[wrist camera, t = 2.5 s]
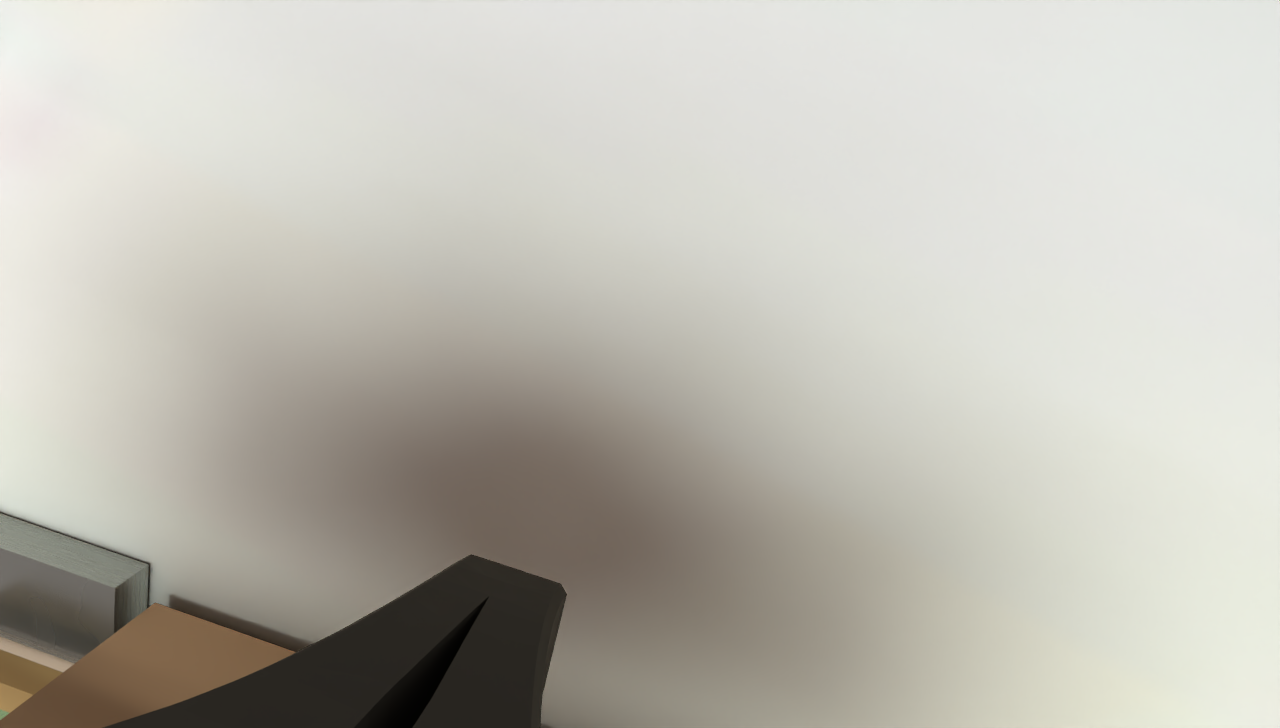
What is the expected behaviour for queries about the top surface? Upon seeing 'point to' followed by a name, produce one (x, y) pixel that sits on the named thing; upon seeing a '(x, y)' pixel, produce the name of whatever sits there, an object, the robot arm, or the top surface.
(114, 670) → the brown wooden block
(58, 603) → the gauge frame
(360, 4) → the top surface
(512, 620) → the robot arm
